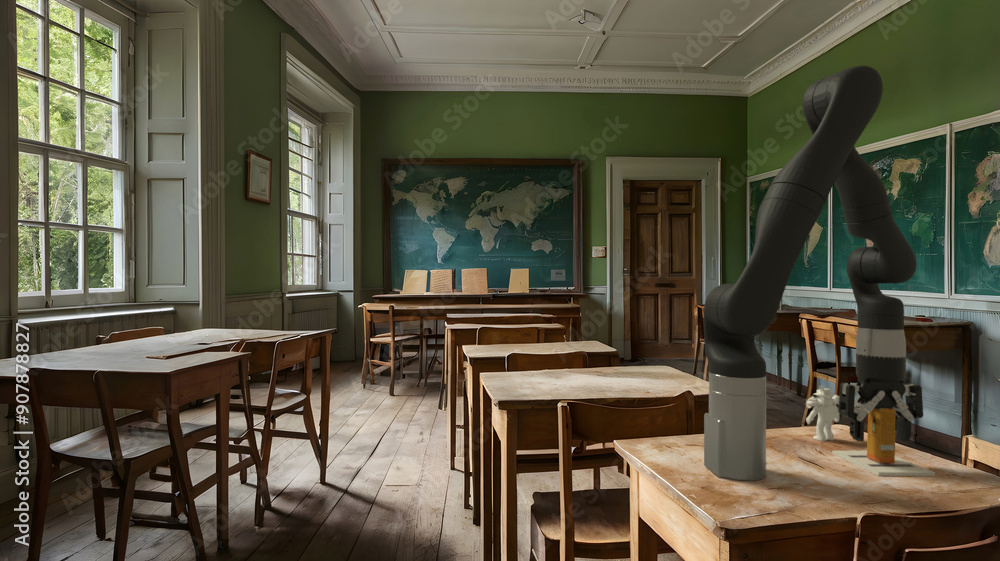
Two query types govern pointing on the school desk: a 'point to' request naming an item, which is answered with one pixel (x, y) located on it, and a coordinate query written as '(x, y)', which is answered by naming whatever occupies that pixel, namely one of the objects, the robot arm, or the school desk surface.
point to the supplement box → (881, 435)
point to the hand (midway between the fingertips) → (880, 440)
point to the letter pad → (883, 465)
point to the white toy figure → (823, 412)
